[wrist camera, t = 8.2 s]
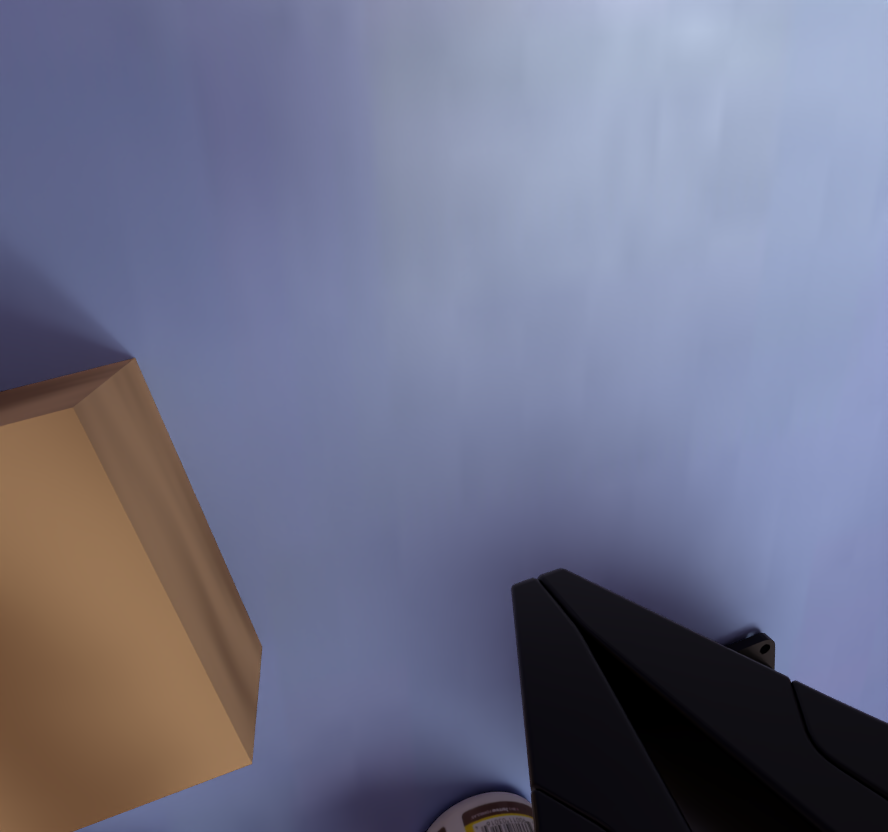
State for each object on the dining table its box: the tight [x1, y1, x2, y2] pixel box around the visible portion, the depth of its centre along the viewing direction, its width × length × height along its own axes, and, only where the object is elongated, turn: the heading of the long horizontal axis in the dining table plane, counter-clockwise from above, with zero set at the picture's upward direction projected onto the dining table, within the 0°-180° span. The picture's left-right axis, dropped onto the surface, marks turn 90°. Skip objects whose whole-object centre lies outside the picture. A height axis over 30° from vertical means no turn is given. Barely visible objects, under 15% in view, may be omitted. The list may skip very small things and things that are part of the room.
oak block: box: [0, 358, 262, 832], centre depth 13 cm, size 8×10×4 cm
